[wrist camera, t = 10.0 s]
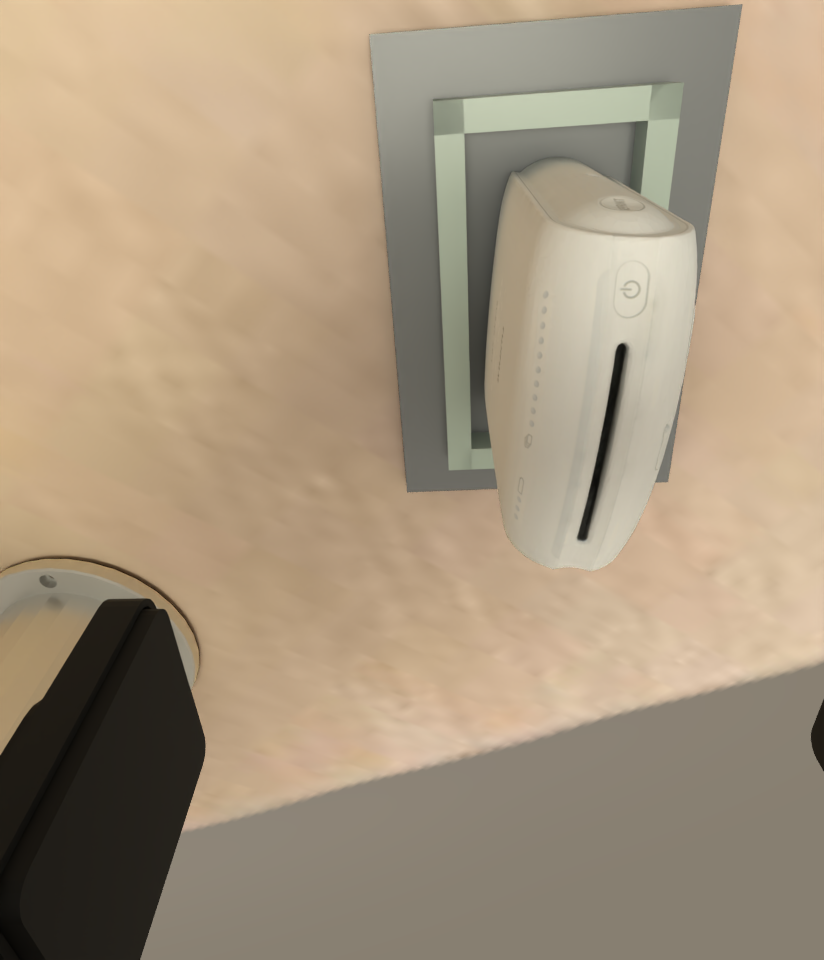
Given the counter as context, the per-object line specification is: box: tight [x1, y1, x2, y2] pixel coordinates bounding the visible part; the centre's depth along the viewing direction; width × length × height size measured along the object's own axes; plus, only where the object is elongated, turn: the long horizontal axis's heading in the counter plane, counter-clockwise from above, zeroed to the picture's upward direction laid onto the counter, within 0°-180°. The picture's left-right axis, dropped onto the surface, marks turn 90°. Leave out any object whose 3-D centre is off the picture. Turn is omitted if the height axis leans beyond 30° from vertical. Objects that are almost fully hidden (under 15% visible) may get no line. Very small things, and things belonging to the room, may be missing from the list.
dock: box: [369, 4, 742, 492], centre depth 26 cm, size 18×12×2 cm, turn 4°
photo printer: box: [484, 157, 697, 571], centre depth 21 cm, size 10×4×12 cm, turn 178°
